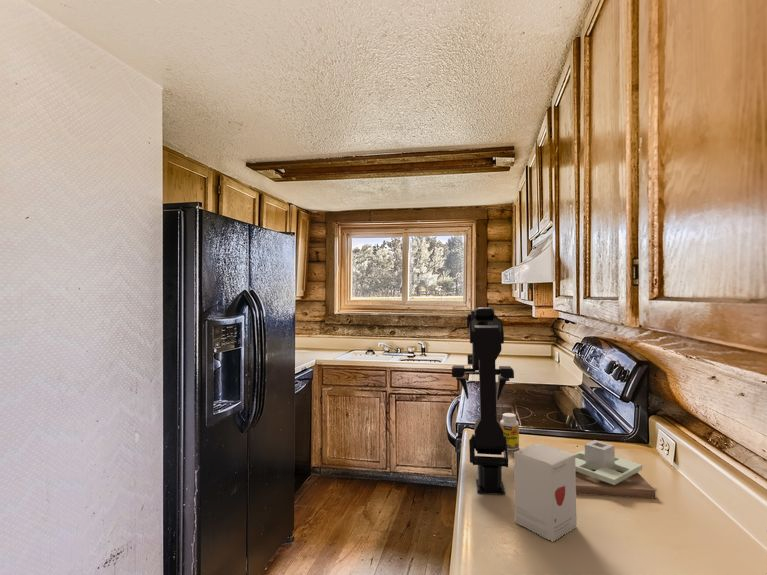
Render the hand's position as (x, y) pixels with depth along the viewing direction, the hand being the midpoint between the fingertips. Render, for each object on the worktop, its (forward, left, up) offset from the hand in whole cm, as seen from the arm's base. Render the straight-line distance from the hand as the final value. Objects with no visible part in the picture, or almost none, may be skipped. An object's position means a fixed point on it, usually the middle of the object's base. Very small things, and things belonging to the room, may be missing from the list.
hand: (482, 399), depth 130 cm
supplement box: (-43, -10, -15) cm, 47 cm away
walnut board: (-19, -28, -15) cm, 37 cm away
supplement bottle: (0, -8, -15) cm, 17 cm away
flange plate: (-19, -28, -12) cm, 36 cm away
